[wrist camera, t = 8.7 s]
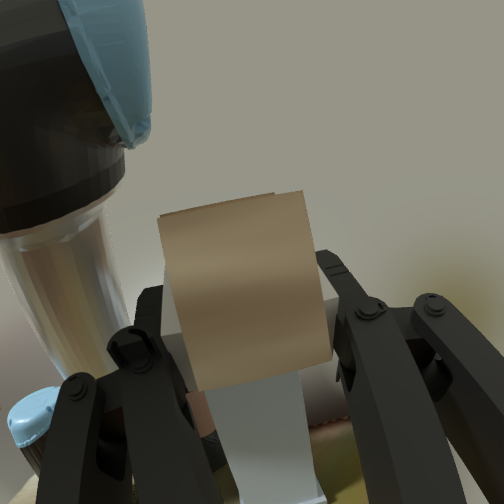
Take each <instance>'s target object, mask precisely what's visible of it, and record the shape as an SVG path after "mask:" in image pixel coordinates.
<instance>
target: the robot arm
mask: <svg viewBox="0 0 504 504" xmlns="http://www.w3.org/2000/svg"><path fill="white" fill-rule="evenodd" d="M151 106H152V94H151V74H150V60H149V49H148V37H147V27H146V20H145V13H144V6H143V1H142V0H0V262H1V265H2V267H3V269H4V272H5V274H6V276H7V279H8V281H9V283H10V285H11V288H12V290H13V292H14V294H15V296H16V298H17V300H18V302H19V304H20V306H21V308H22V310H23V312H24V314H25V316H26V318H27V320H28V322H29V323H30V325H31V327H32V329H33V331H34V332H35V334H36V336H37V338H38V339H39V341H40V343H41V344H42V346H43V348H44V349H45V351H46V353H47V354H48V356H49V357H50V359H51V360H52V362H53V363H54V365H55V367H56V368H57V369H58V371H59V372H60V374H61V375H62V377H63V378H64V380H65V381H64V382H63V384H62V386H61V387H56V386H54V387H48V388H44V389H42V390H39V391H36V392H34V393H32V394H30V395H28V396H26V397H25V398H23V399H22V400H20V401H19V402H18V403H17V404H16V405H15V406H14V407H13V408H12V409H11V411H10V413H9V415H8V426H9V429H10V431H11V433H12V435H13V438H14V440H15V442H16V445H17V446H18V447H19V448H20V450H21V452H22V453H23V455H24V457H25V458H26V460H27V461H28V463H29V464H30V466H31V467H32V469H33V470H34V472H35V473H36V475H37V476H38V478H39V482H38V488H37V496H36V504H137V501H136V498H135V497H134V495H133V494H132V474H133V477H134V482H135V487H136V491H137V496H138V500H139V504H224V502H223V500H222V497H221V494H220V492H219V489H218V487H217V484H216V481H215V479H214V476H213V473H212V471H211V468H210V465H209V462H208V459H207V456H206V453H205V450H204V447H203V444H202V441H201V438H200V435H199V432H198V429H197V426H196V423H195V419H194V416H193V413H192V409H191V406H190V403H189V402H188V400H187V398H186V394H185V385H186V387H187V389H188V391H189V392H190V391H196V390H198V387H197V384H196V380H195V377H194V374H193V370H192V367H191V364H190V360H189V357H188V353H187V349H186V346H185V342H184V338H183V335H182V331H181V327H180V323H179V319H178V315H177V311H176V307H175V303H174V299H173V295H172V290H171V286H170V281H169V277H168V272H167V268H166V263H165V271H164V284H163V285H160V286H155V287H150V288H145V289H144V290H143V291H142V293H141V295H140V296H139V297H138V300H137V307H136V313H135V320H134V325H133V326H131V324H130V321H129V317H128V313H127V309H126V306H125V302H124V297H123V293H122V289H121V285H120V280H119V276H118V271H117V266H116V262H115V257H114V251H113V246H112V241H111V235H110V229H109V223H108V217H107V210H106V203H107V202H108V201H109V199H110V198H111V197H112V196H113V195H114V193H115V192H116V191H117V190H118V189H119V188H120V186H121V185H122V183H123V181H124V179H125V161H124V148H128V150H130V149H135V148H136V146H138V145H140V144H142V143H144V142H145V141H146V140H147V139H148V137H149V135H150V131H151V120H150V113H151ZM315 254H316V260H317V265H318V271H319V277H320V282H321V288H322V294H323V300H324V307H325V313H326V320H327V326H328V333H329V340H330V348H331V355H332V358H333V350H335V352H336V353H337V355H338V357H339V361H338V367H337V373H336V382H338V381H339V379H340V378H341V382H342V386H343V390H344V393H345V397H346V401H347V405H348V410H349V414H350V418H351V422H352V426H353V430H354V435H355V439H356V443H357V448H358V452H359V457H360V461H361V466H362V471H363V475H364V480H365V485H366V490H367V495H368V500H369V504H467V503H466V499H465V495H464V491H463V488H462V484H461V481H460V478H459V474H458V471H457V468H456V465H455V462H454V459H453V456H452V453H451V450H450V447H449V444H448V441H447V438H448V440H449V441H450V443H451V444H452V446H453V447H454V449H455V450H456V452H457V453H458V455H459V456H460V458H461V459H462V461H463V462H464V464H465V465H466V467H467V469H468V470H469V472H470V473H471V475H472V476H473V478H474V480H475V481H476V483H477V484H478V486H479V488H480V489H481V491H482V492H483V494H484V496H485V497H486V499H487V501H488V502H489V504H504V357H503V356H502V355H501V354H500V353H499V352H498V351H497V349H496V348H494V346H493V345H492V344H491V343H490V342H489V341H488V340H487V339H486V338H485V337H484V336H483V335H482V334H481V332H480V331H479V330H478V329H477V328H476V327H475V326H474V325H473V324H472V323H471V322H470V321H469V320H468V319H467V318H466V317H464V315H463V314H462V313H461V312H460V311H459V310H458V309H457V308H456V307H455V306H454V305H453V304H452V303H451V302H449V301H448V300H447V299H445V298H444V297H443V296H440V295H438V294H433V293H426V294H422V295H420V296H419V297H418V298H416V301H415V303H414V306H413V307H402V308H389V307H388V306H387V305H386V304H385V302H383V301H381V300H379V299H378V298H374V297H369V296H368V295H367V294H366V293H365V291H364V290H363V289H362V287H361V286H360V284H359V283H358V282H357V280H356V279H355V278H354V277H353V275H352V274H351V273H350V272H349V270H348V269H347V268H346V266H344V264H343V262H342V261H341V260H340V259H339V257H338V256H337V255H335V254H334V253H332V252H330V251H328V250H321V251H317V252H315ZM445 435H446V436H445ZM446 437H447V438H446Z"/></svg>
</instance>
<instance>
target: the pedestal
mask: <svg viewBox="0 0 504 504" xmlns="http://www.w3.org/2000/svg"><path fill="white" fill-rule="evenodd" d="M204 393H205V396H206V399H207V403H208V406H209V409H210V412H211V415H212V418H213V421H214V424H215V427H216V430H217V433H218V436H219V439H220V442H221V445H222V447H223V450H224V453H225V456H226V458H227V461H228V464H229V467H230V469H231V472H232V474H233V477H234V480H235V482H236V485H237V487H238V490H239V498H240V504H327V499H326V497H325V495H324V493H323V491H322V488H321V486H320V484H319V482H318V480H317V477H316V475H315V472H314V465H313V458H312V451H311V444H310V438H309V431H308V425H307V418H306V412H305V406H304V400H303V393H302V388H301V381H300V375H299V370H297V371H293V372H289V373H285V374H281V375H277V376H273V377H269V378H265V379H261V380H256V381H252V382H247V383H243V384H238V385H233V386H228V387H223V388H217V389H212V390H206V391H204Z"/></svg>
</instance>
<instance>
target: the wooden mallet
mask: <svg viewBox="0 0 504 504" xmlns="http://www.w3.org/2000/svg"><path fill="white" fill-rule="evenodd" d="M157 222H158V228H159V233H160V238H161V243H162V248H163V253H164V258H165V263H166V268H167V272H168V277H169V281H170V286H171V290H172V295H173V299H174V303H175V307H176V311H177V315H178V319H179V323H180V327H181V331H182V335H183V338H184V342H185V346H186V349H187V353H188V357H189V360H190V364H191V367H192V370H193V374H194V377H195V380H196V384H197V387H198V390H199V392H200V391H206V390H212V389H217V388H223V387H228V386H233V385H238V384H243V383H247V382H252V381H256V380H261V379H265V378H269V377H273V376H277V375H281V374H285V373H289V372H293V371H297V370H300V369H304V368H307V367H311V366H315V365H318V364H321V363H325V362H328V361H331V360H332V355H331V348H330V340H329V333H328V326H327V320H326V313H325V307H324V300H323V294H322V288H321V282H320V277H319V271H318V265H317V260H316V254H315V249H314V244H313V239H312V233H311V229H310V223H309V219H308V214H307V209H306V204H305V199H304V195H303V191H302V190H301V191H295V192H289V193H283V194H277V195H275V193H268V194H262V195H256V196H251V197H246V198H241V199H235V200H230V201H225V202H220V203H215V204H210V205H205V206H200V207H195V208H190V209H186V210H181V211H177V212H172V213H167V214H163V215H160V218H157Z"/></svg>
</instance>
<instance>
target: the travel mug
mask: <svg viewBox="0 0 504 504" xmlns="http://www.w3.org/2000/svg"><path fill="white" fill-rule="evenodd" d="M185 394H186V398H187V400H188V402H189V403H190V406H191V409H192V413H193V416H194V419H195V423H196V426H197V429H198V432H199V435H200V438H201V441H202V444H203V447H204V450H205V453H206V456H207V459H208V462H209V465H210V468H211V471H214V470H217V469H219V468H221V467H222V466H223V465H224V464H225V463H226V461H227V458H226V456H225V453H224V450H223V447H222V445H221V442H220V439H219V436H218V433H217V430H216V427H215V424H214V421H213V418H212V415H211V412H210V409H209V406H208V403H207V399H206V396H205V393H204V391H200V392H199V390H196V391H190V392H189V391H188V389H187V387H186V385H185Z"/></svg>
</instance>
